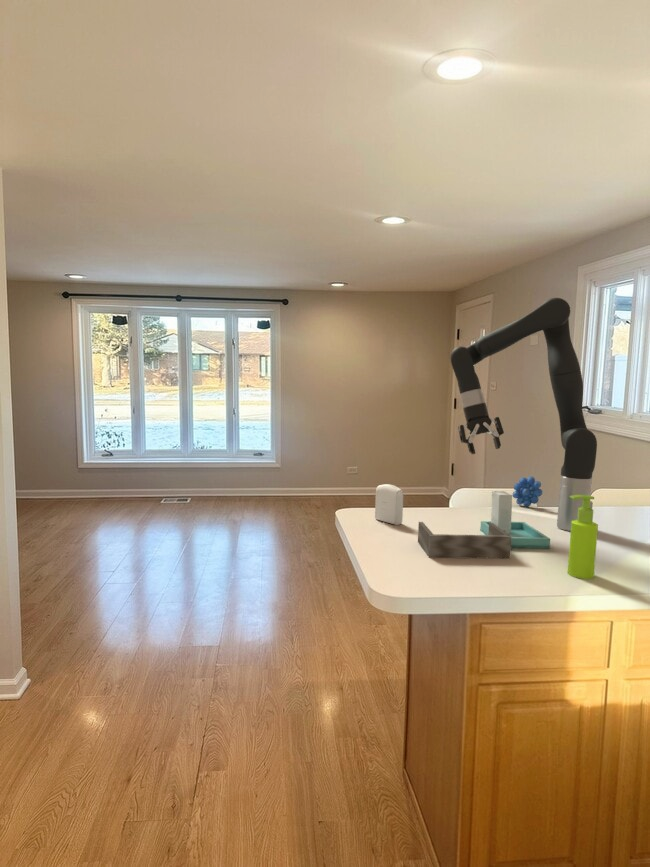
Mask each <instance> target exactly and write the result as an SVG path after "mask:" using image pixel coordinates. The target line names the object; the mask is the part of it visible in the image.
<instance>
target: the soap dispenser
mask: <svg viewBox="0 0 650 867" xmlns="http://www.w3.org/2000/svg"><path fill="white" fill-rule="evenodd" d="M569 497H570V498H572V499H574V500H576V499H583V503H582V507H580V508H578V518H577V520H573V521H572V523H571V531H570V538H569V548H568V563H567V564H568V565H567V574H569V575H570V576H572V577H574V578H577V579H583V580H584V579H585V580H590V579H593V578H594V576H595V566H596V565H595V564H596V556H597V555H596V554H597V543H598V542H597V541H598V528H599V524H598V523H597V522H594V520H593V519H594V509H593V508H592V509H591V508H590V501H591V500H595V496H592V495H573V496H569Z"/></svg>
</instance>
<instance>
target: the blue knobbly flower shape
mask: <svg viewBox="0 0 650 867" xmlns="http://www.w3.org/2000/svg"><path fill="white" fill-rule="evenodd" d="M541 485H542V483H541V481H539V480H536V478H535V477H534V476H529V477H528V478H526V477H524V476H523V477H521V478H520V479H519V481H518V482H517V483H515V484H514V485H513V490H514V491H513V493H512V498H513V499H516V501H515V502H516V504H517V505H519V506H521V505H523V506H524V507H525V508H528V507H530V506H531V505H532V504H533V505H536V504H537V503H539V500H540V499H539V497H541V496H542V495H543V490H542V489H541Z"/></svg>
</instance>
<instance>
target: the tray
mask: <svg viewBox="0 0 650 867" xmlns="http://www.w3.org/2000/svg"><path fill="white" fill-rule="evenodd" d="M489 523H491V520H489V521H488V520H485V521H484V520H481V521H480V530H479V531H480V532H482V533H483V535H488V533H489ZM508 535H510V536H511V549H517V550H518V549H519V550H520V549H522V550H523V549H524V550H525V549H526V550H527V549H529V550H530V549H531V550H537V549H538V550H540V549H541V550H550V549H551V548H550V547H551V538H550V537H548V536H546V535H545V534H544V533H543V532H540V531H539V530H537V529H536V528H534V527H533V526H531V525H529V524H528V523H526V522H525V521H511V533H510V534H508Z"/></svg>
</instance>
